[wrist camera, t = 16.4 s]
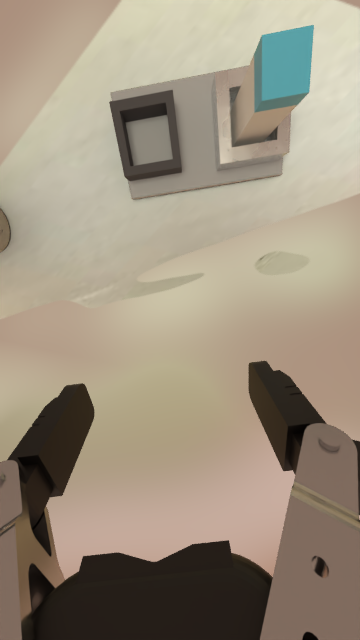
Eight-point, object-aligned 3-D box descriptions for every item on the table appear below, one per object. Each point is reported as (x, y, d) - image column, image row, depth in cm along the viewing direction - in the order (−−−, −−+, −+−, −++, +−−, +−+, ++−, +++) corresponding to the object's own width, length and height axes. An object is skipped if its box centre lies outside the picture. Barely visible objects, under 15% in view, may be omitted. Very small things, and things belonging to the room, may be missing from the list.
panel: (133, 199, 33) (131, 198, 32) (112, 97, 28) (110, 92, 27) (279, 175, 32) (282, 174, 31) (282, 64, 27) (286, 58, 26)
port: (216, 170, 31) (220, 163, 27) (210, 91, 27) (215, 72, 24) (277, 160, 30) (289, 152, 27) (279, 78, 27) (293, 57, 24)
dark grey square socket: (129, 181, 31) (124, 176, 28) (116, 114, 28) (109, 101, 25) (181, 172, 31) (181, 166, 28) (173, 103, 28) (172, 89, 25)
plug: (231, 149, 30) (261, 100, 19) (229, 111, 28) (262, 35, 17) (260, 144, 29) (309, 92, 18) (260, 106, 28) (313, 24, 17)
